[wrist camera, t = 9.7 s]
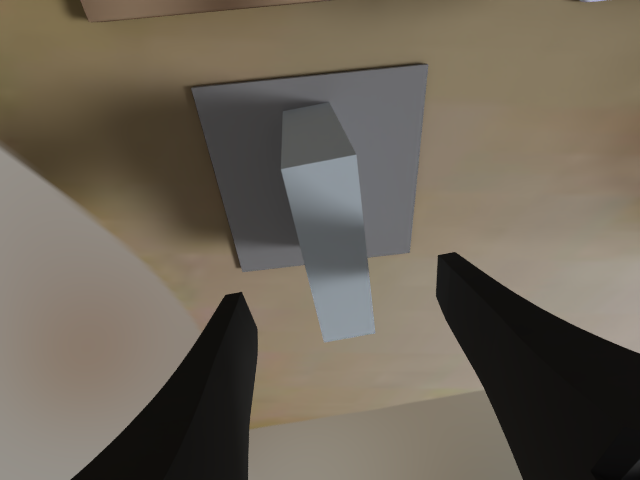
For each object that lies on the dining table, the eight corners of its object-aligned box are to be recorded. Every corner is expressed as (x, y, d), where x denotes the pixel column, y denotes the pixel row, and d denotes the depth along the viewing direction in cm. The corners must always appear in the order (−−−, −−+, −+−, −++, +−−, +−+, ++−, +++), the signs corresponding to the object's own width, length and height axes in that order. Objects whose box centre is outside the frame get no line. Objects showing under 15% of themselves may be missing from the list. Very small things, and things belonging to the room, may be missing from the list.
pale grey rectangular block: (329, 101, 17) (356, 154, 11) (348, 239, 22) (375, 333, 16) (282, 111, 17) (280, 169, 11) (312, 246, 22) (324, 342, 16)
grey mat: (425, 63, 17) (428, 64, 17) (407, 249, 24) (409, 252, 23) (193, 86, 17) (191, 88, 16) (243, 268, 23) (242, 272, 23)
